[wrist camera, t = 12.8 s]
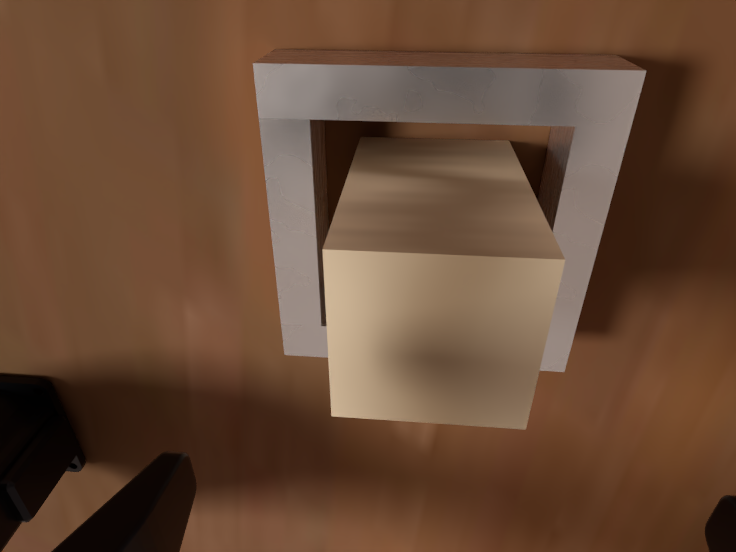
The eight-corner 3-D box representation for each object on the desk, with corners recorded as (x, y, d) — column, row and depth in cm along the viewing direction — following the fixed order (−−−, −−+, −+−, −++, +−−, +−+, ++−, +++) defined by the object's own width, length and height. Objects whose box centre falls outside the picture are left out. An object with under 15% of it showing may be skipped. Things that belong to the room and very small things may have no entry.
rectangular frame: (297, 316, 22) (284, 354, 20) (274, 49, 16) (252, 63, 14) (549, 330, 21) (564, 371, 19) (616, 55, 16) (646, 70, 13)
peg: (361, 262, 20) (331, 416, 13) (360, 136, 18) (322, 249, 11) (490, 268, 20) (525, 429, 13) (509, 140, 17) (565, 259, 10)
